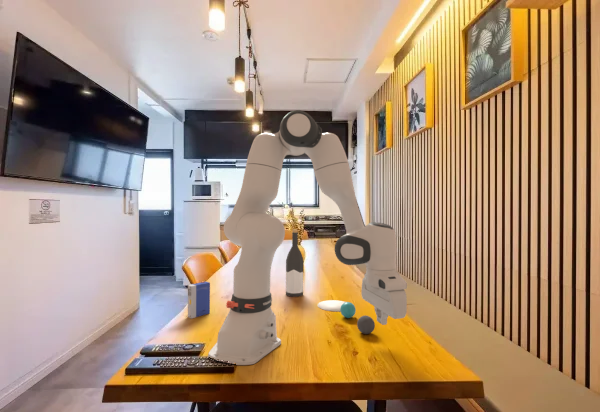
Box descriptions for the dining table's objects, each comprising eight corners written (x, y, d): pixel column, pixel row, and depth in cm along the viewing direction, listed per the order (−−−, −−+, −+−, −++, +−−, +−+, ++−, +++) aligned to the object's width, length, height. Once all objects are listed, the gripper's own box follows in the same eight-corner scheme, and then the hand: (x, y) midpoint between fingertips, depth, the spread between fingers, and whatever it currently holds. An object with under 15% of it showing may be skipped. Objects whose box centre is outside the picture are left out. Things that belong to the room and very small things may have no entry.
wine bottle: (303, 292, 154) (304, 228, 153) (302, 297, 146) (303, 230, 145) (286, 291, 154) (287, 228, 154) (284, 296, 146) (285, 229, 146)
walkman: (205, 311, 125) (205, 280, 125) (209, 313, 123) (210, 281, 123) (186, 316, 119) (187, 284, 119) (190, 318, 118) (191, 285, 117)
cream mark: (349, 313, 125) (349, 312, 125) (314, 309, 129) (314, 308, 129) (353, 302, 139) (353, 301, 139) (321, 299, 143) (321, 299, 143)
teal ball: (354, 320, 117) (354, 305, 117) (339, 319, 118) (339, 303, 118) (356, 315, 122) (356, 300, 122) (341, 314, 124) (341, 299, 124)
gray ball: (374, 337, 102) (374, 319, 102) (356, 335, 104) (356, 318, 104) (375, 331, 108) (375, 314, 108) (357, 329, 109) (358, 312, 109)
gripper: (356, 270, 106) (356, 312, 107) (390, 286, 87) (390, 338, 87) (373, 269, 108) (374, 310, 109) (410, 284, 89) (411, 335, 89)
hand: (381, 323), depth 98 cm, fingers closed
